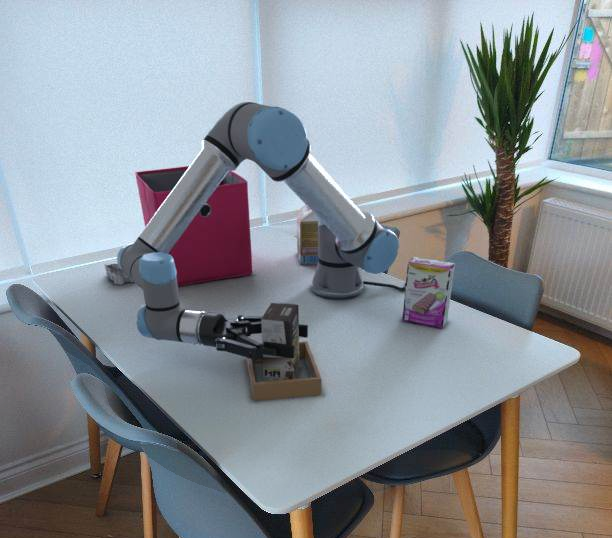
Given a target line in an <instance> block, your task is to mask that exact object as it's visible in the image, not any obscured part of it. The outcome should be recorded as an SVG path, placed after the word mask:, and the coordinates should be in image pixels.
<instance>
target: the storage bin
mask: <svg viewBox="0 0 612 538" xmlns="http://www.w3.org/2000/svg"><path fill="white" fill-rule="evenodd" d="M189 167H190V165H186V166H178V167H177V166H176V167H168V168H159V169H150V170H142V171H135V172H134V175H135V180H136V184H137V190H138V195H139V202H140V207H141V212H142V219H143V222H144V228H145V227H146V226H147V224H148V223H149V222H150V220H151V219H152V218H153V216H154V215H155V213H156V212H157V211H158V209H159V208H160V207H161V205H162V204H163V202H164V201H165V200H166V198H167V197H168V196H169V194H170V193H171V191H172V190H173V189H174V187H175V186H176V185H177V183H178V182H179V180H180V179H181V178H182V176H183V175H184V174H185V172H186V171H187V169H188V168H189ZM248 185H249V183H248V180H247V179H245V178H244V177H243V176H241V175H240V174H238V173H236V172H235V171H229V172H228V173H227V174H226V176H225V177H224V179H223V180H222V181H221V183H220V184H219V185H218V187H217V188H216V189H215V191H214V192H213V193H212V195H211V196H210V197H209V199H208V200H207V201H206V203H205V204H204V206H203V207H202V208H201V210H200V211H199V212H198V214H197V215H196V216H195V218H194V219H193V220H192V222H191V223H190V224H189V226H188V227H187V229H186V230H185V231H184V233H183V234H182V235H181V237H180V238H179V239H178V241H177V242H176V243H175V245H174V246H173V247H172V249H171V250H170V252H169V253H168V254H169V255H171V256H172V257H173V259H174V263H175V268H176V270H177V284H178V287H182V286H188V285H194V284H201V283H207V282H210V281H211V282H213V281H216V280H224V279H231V278H238V277H244V276H251V275H253V274H254V271H253V257H252V256H253V255H252V241H251V240H252V239H251V223H250V202H249V188H248Z"/></svg>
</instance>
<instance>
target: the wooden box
mask: <svg viewBox="0 0 612 538" xmlns="http://www.w3.org/2000/svg"><path fill="white" fill-rule="evenodd" d="M250 353H251V352H250ZM299 359H305V363H306V365H307V369H308V371H309V374H310V377H304V378H295V379H291V380H280V381H269V382H264V381H259V382H256V375H255V369H254V365H253V363H257V362H258V363H259V362H263V358H262V359H258V356H257V359H250V358H246V357H245V360H246V361H245V362H246V366H247V372H248V378H249V384H250V390H251V395H252V400H253V402H256V401H269V400H279V399H288V398H289V399H290V398H299V397H301V398H302V397H310V396H311V397H312V396H319V395H320V396H321V395H322V376H321V373H320V370H319V368H318V365H317V363H316V360H315V358H314V355H313V352H312V350H311V347H310V343H309V342H308V340H304V341H303V340H302V341H299Z"/></svg>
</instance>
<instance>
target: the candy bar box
mask: <svg viewBox="0 0 612 538" xmlns="http://www.w3.org/2000/svg"><path fill="white" fill-rule="evenodd" d="M455 269H456V263H455V262H448V261H443V260H442V261H441V260H437V259H429V258H424V257H416V256H412V258H410V260H409V261H408V262H407V269H406V279H405V283H406V288H405V290H404V300H403V307H402V317H401V319H402V322H405V323H412V324H418V325H422V326H427V327H432V328H437V329H443V328H444V326H445V325H446V324H447V322H448V318H449V310H450V304H451V297H452V289H453V284H454V275H455V271H456V270H455Z"/></svg>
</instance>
